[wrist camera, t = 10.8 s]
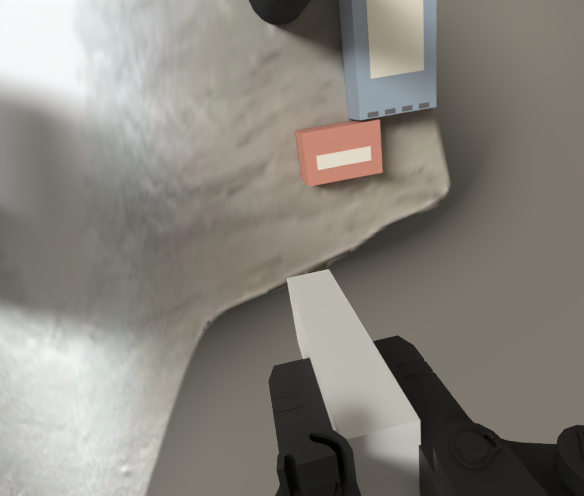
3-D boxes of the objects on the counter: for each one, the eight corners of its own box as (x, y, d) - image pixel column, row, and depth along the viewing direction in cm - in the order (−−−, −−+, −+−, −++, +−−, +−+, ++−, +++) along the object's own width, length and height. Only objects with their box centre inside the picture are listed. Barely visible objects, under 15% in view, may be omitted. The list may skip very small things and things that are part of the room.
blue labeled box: (348, 118, 44) (360, 120, 40) (336, -19, 39) (349, -33, 35) (418, 106, 45) (436, 107, 41) (416, -30, 40) (437, -45, 36)
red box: (302, 179, 46) (309, 186, 42) (295, 130, 44) (301, 133, 40) (370, 166, 47) (382, 172, 43) (367, 118, 45) (380, 119, 41)
